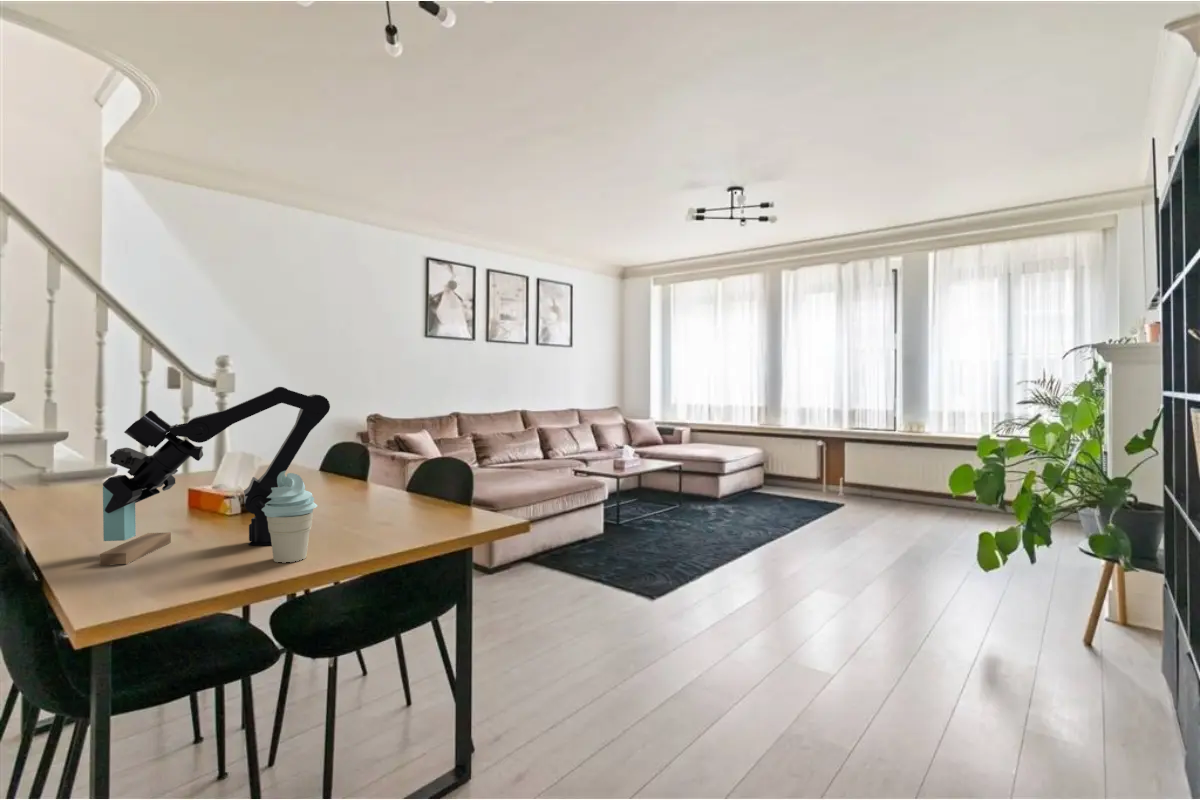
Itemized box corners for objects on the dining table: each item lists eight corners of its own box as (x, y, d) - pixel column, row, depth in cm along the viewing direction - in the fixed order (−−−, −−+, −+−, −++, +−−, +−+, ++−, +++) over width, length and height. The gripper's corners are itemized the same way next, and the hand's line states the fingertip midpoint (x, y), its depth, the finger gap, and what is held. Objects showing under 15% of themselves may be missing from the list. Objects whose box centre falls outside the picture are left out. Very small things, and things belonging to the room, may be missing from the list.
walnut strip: (170, 542, 147) (170, 532, 147) (126, 564, 130) (125, 553, 130) (148, 543, 147) (148, 532, 146) (99, 565, 129) (99, 553, 129)
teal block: (135, 535, 140) (135, 481, 139) (124, 540, 136) (123, 485, 135) (115, 536, 139) (114, 482, 139) (103, 541, 135) (102, 485, 135)
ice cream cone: (318, 561, 134) (318, 471, 134) (261, 568, 129) (261, 474, 128) (316, 550, 143) (316, 466, 143) (262, 555, 138) (262, 468, 137)
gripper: (160, 432, 147) (110, 478, 145) (112, 439, 128) (54, 492, 127) (196, 464, 148) (147, 510, 147) (154, 476, 130) (97, 529, 128)
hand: (113, 509), depth 137 cm, fingers closed on teal block, 4 cm apart
